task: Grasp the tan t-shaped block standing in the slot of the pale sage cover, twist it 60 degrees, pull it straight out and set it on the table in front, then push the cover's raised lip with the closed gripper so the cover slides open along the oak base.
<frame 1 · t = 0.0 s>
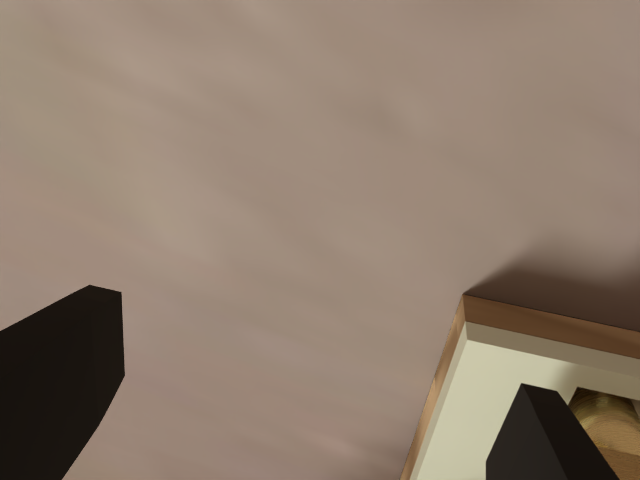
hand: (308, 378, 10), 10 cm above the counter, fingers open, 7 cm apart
base: (546, 454, 23), on the counter
tan t-shaped block: (587, 377, 21), resting in base
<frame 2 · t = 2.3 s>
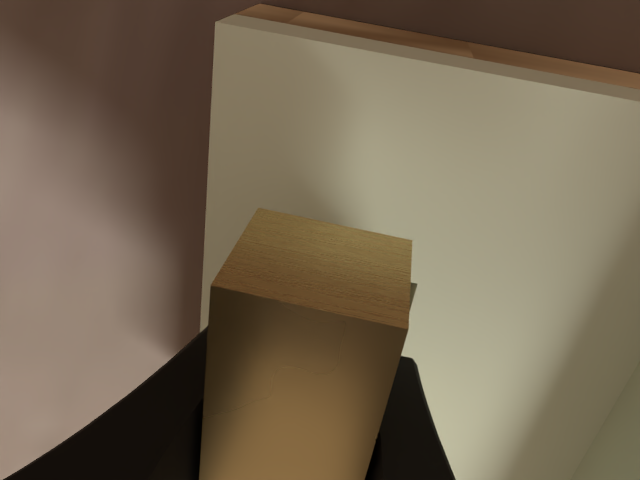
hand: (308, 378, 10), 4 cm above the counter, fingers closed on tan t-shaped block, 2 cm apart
cover: (552, 408, 10), point 3 cm above the counter, slide at 0.0 cm
base: (524, 304, 13), on the counter
tan t-shaped block: (338, 263, 13), resting in base, touching gripper
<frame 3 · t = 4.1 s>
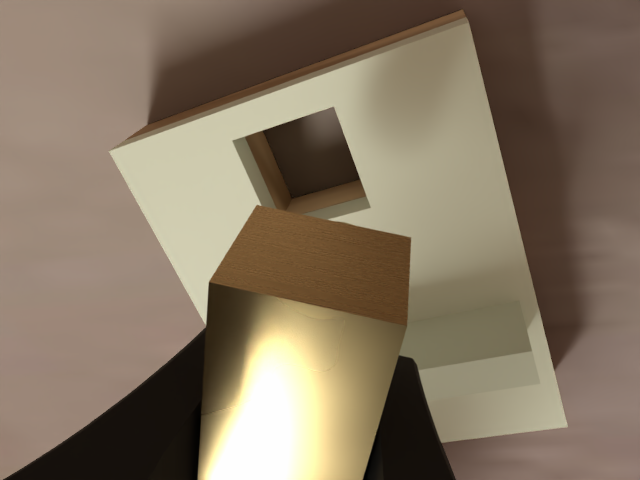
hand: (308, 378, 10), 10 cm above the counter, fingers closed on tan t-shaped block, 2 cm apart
cover: (349, 310, 17), point 3 cm above the counter, slide at 0.0 cm
base: (360, 256, 20), on the counter
tan t-shaped block: (337, 261, 13), point 6 cm above the counter, touching gripper
when the fingers open (5 cm above the counter, at t = 5.7 s): tan t-shaped block stays where it is, on the counter.
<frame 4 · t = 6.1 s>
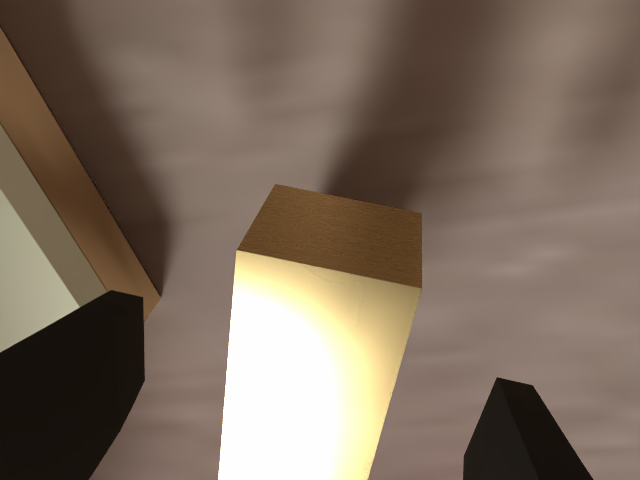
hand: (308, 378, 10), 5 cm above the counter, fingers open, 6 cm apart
tan t-shaped block: (345, 247, 14), on the counter
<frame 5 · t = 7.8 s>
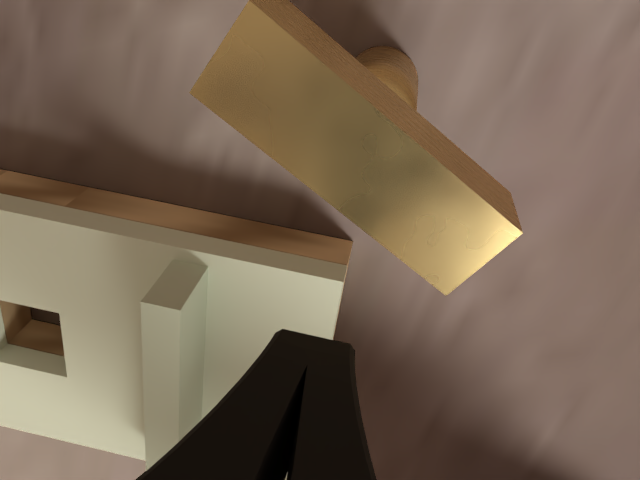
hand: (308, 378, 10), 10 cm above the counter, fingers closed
cover: (127, 376, 20), point 3 cm above the counter, slide at 0.0 cm
base: (165, 320, 23), on the counter
tan t-shaped block: (381, 83, 17), on the counter
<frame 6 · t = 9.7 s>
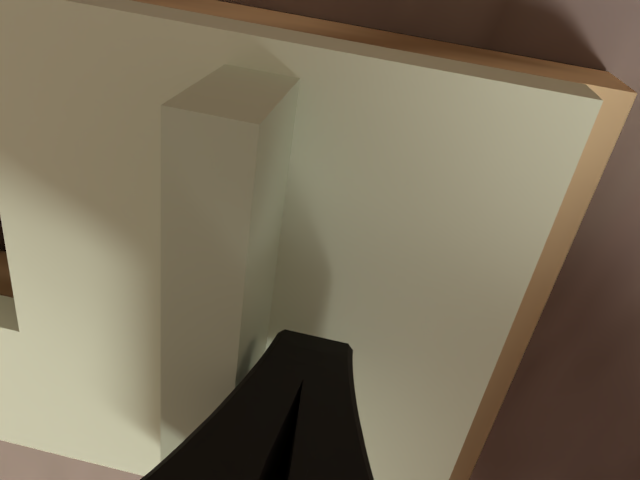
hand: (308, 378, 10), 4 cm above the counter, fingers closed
cover: (127, 323, 11), point 3 cm above the counter, slide at 0.8 cm, touching gripper
base: (224, 246, 13), on the counter
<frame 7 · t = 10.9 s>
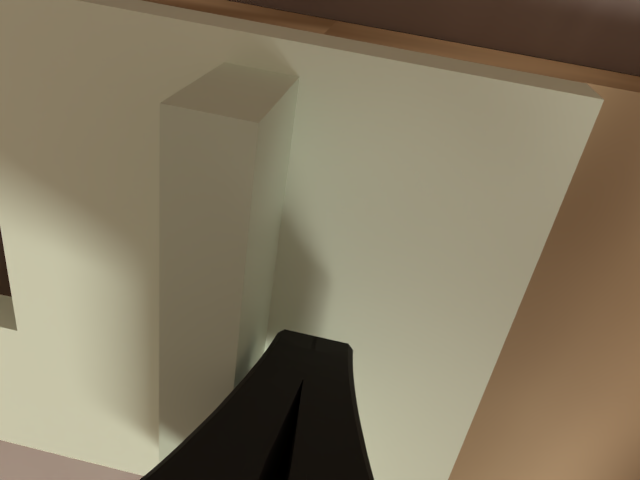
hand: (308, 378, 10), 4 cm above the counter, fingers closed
cover: (125, 322, 11), point 3 cm above the counter, slide at 5.6 cm, touching gripper
base: (419, 288, 13), on the counter
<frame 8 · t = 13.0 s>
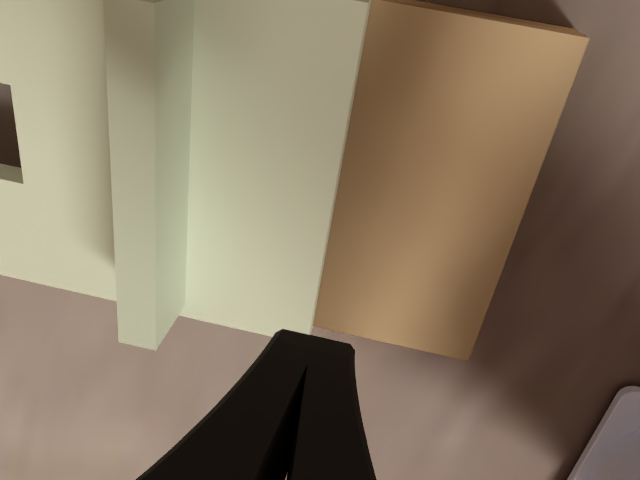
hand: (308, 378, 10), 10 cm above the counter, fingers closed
cover: (95, 163, 16), point 3 cm above the counter, slide at 5.6 cm
base: (304, 161, 19), on the counter
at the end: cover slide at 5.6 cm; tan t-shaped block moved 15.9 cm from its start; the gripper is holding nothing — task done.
